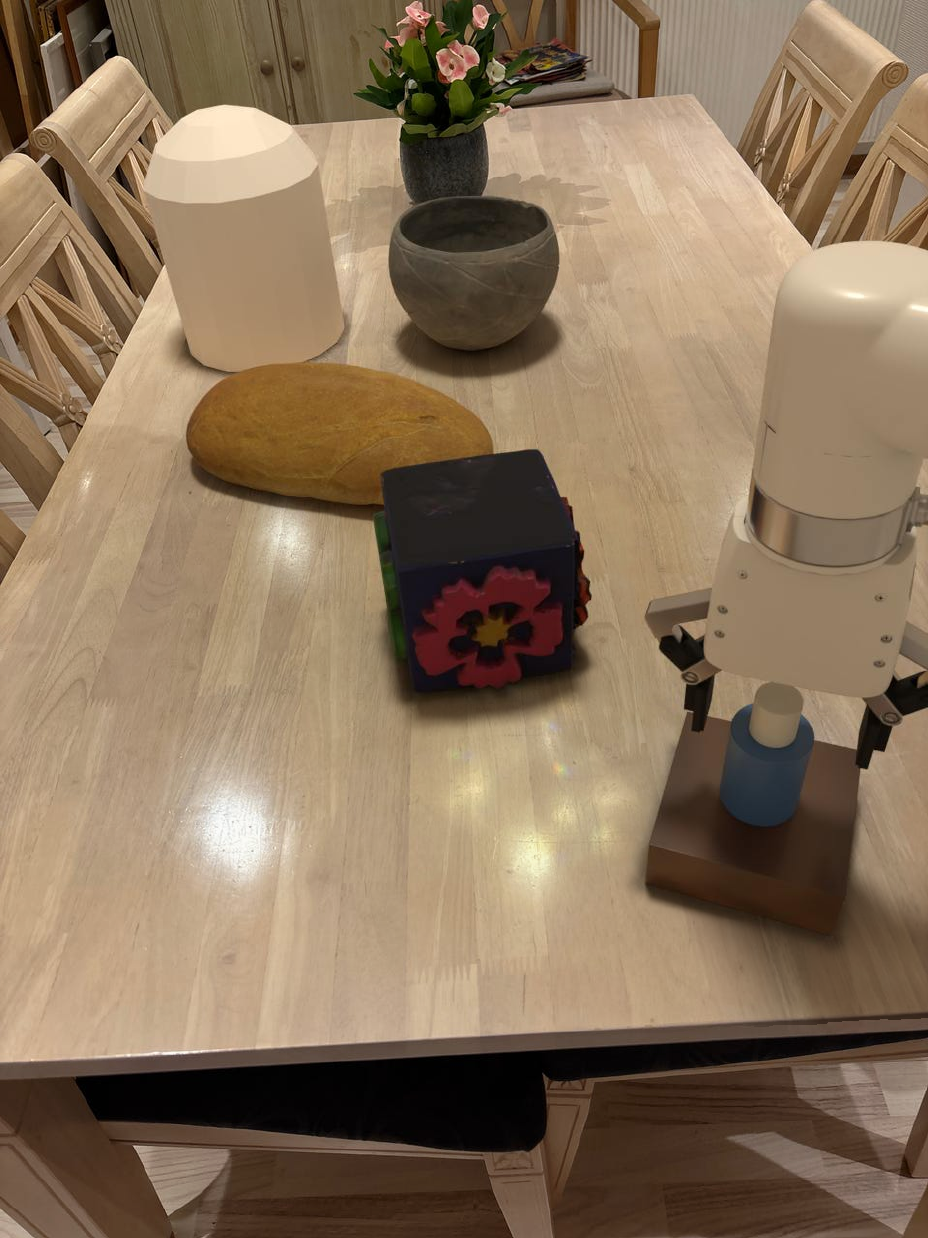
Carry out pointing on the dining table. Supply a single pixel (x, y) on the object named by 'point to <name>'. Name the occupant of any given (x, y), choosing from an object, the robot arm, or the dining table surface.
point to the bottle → (767, 757)
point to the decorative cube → (480, 570)
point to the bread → (326, 430)
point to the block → (756, 836)
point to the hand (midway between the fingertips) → (780, 733)
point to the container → (244, 239)
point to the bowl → (473, 268)
